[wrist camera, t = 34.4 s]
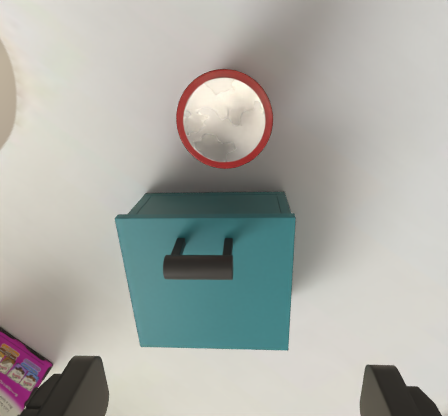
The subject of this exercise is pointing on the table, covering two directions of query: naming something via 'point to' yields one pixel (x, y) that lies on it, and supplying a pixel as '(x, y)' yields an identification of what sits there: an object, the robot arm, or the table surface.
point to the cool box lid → (209, 278)
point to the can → (224, 118)
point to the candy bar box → (18, 374)
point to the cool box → (212, 203)
